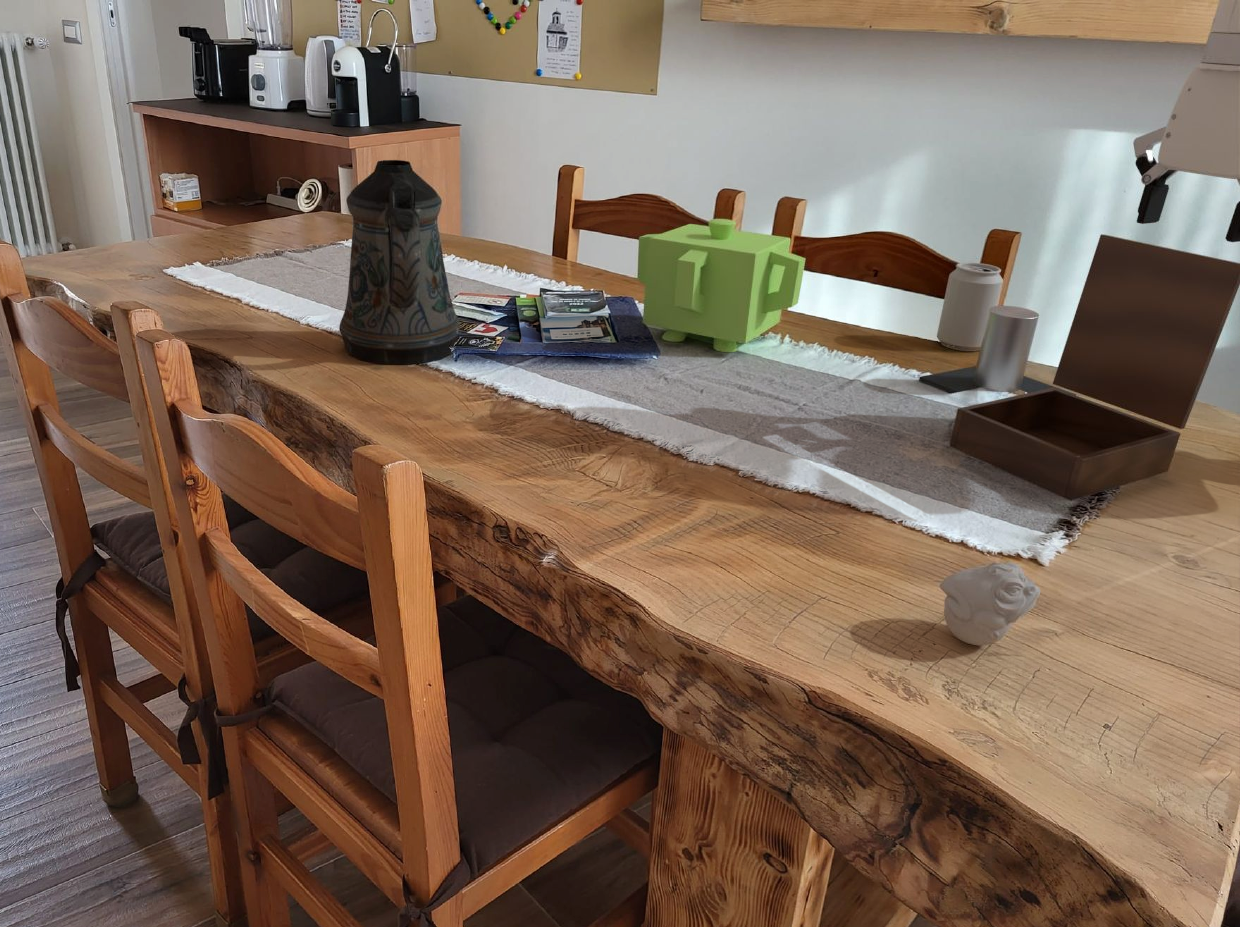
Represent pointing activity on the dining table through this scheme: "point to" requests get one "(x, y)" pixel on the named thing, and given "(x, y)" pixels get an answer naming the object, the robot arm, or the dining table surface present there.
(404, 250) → the dark ornate jug
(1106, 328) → the lid
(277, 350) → the dining table surface
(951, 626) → the frog figurine
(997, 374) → the steel canister
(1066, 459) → the brown shallow square box
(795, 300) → the green square teapot
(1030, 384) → the mat
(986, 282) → the can
